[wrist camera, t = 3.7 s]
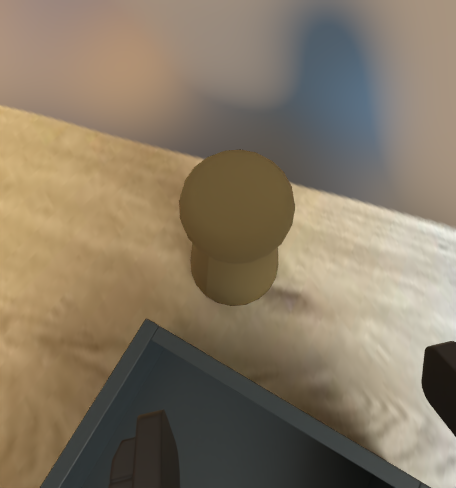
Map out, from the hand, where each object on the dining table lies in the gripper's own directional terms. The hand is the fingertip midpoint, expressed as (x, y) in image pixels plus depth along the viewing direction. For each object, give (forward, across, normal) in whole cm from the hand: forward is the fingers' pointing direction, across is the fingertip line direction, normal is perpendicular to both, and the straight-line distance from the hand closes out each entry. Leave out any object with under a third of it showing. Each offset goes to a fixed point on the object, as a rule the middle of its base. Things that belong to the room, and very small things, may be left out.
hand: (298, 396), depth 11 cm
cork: (+15, 0, +4) cm, 15 cm away
